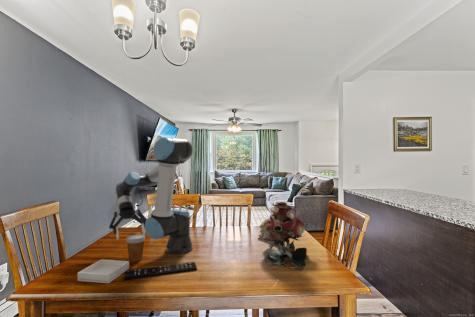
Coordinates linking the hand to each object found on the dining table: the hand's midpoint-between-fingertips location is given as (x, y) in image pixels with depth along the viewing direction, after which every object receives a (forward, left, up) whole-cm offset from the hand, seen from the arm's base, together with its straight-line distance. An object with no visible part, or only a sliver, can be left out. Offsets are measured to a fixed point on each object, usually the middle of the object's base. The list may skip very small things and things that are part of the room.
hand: (131, 236), depth 136 cm
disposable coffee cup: (-5, +4, -11) cm, 13 cm away
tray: (0, +22, -11) cm, 25 cm away
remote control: (-25, +16, -11) cm, 32 cm away
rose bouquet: (-81, -9, -11) cm, 82 cm away
